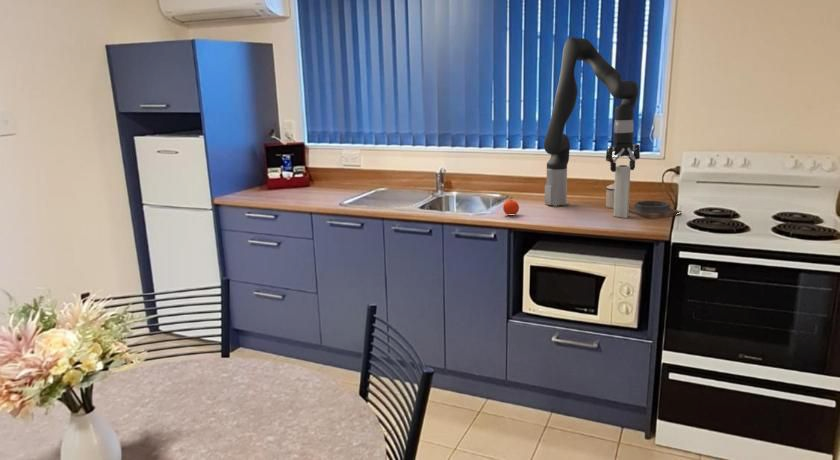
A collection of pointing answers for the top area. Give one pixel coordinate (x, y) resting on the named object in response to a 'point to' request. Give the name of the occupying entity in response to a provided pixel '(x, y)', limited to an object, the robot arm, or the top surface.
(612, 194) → the teacup with lid
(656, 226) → the top surface
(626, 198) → the tall grey block
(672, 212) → the holder base
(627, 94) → the robot arm
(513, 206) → the tomato
